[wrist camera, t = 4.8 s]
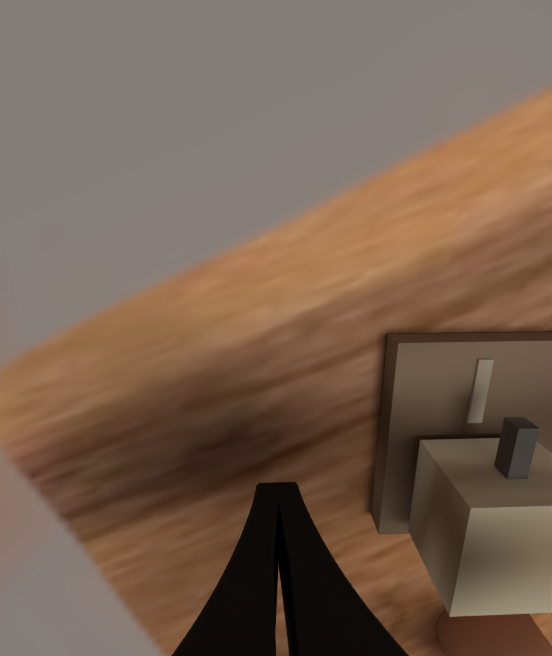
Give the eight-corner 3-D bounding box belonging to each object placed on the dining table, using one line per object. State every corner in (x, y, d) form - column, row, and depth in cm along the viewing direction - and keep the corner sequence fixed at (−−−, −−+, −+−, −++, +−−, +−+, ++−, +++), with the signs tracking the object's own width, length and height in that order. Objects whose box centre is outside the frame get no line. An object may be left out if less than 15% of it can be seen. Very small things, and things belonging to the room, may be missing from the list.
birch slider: (510, 526, 13) (580, 611, 10) (408, 530, 13) (449, 616, 10) (541, 393, 11) (636, 449, 8) (425, 396, 11) (481, 453, 8)
